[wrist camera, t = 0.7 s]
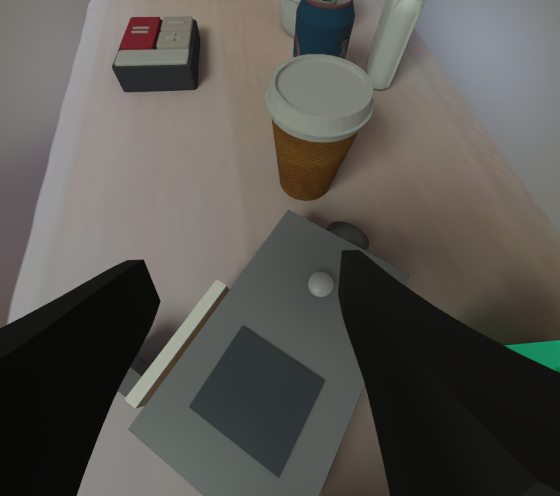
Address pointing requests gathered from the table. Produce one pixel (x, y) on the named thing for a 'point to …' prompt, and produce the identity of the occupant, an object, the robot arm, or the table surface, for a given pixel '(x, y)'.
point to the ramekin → (288, 15)
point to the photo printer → (391, 40)
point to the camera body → (266, 373)
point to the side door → (169, 351)
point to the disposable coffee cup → (316, 119)
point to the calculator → (158, 55)
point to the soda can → (323, 27)
